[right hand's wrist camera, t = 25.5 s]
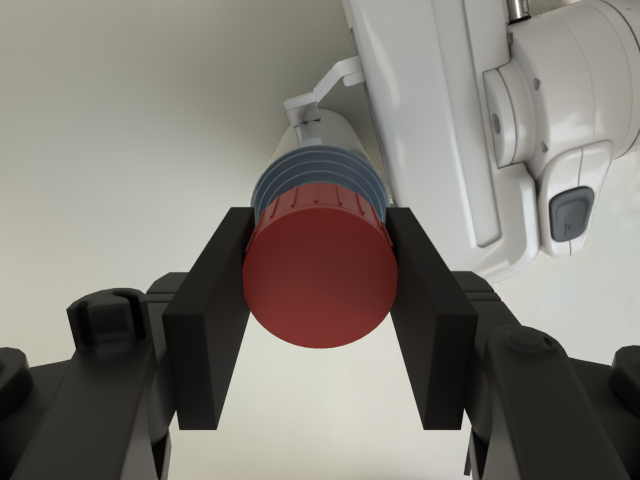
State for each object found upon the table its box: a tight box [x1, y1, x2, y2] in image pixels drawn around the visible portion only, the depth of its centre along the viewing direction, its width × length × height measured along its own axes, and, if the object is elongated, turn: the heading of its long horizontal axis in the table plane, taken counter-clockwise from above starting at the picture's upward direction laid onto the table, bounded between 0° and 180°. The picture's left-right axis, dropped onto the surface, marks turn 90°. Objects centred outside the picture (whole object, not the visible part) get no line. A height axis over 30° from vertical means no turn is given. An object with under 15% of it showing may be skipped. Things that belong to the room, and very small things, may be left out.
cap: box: [242, 182, 398, 348], centre depth 13 cm, size 4×4×3 cm
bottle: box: [250, 109, 390, 227], centre depth 22 cm, size 6×6×21 cm
